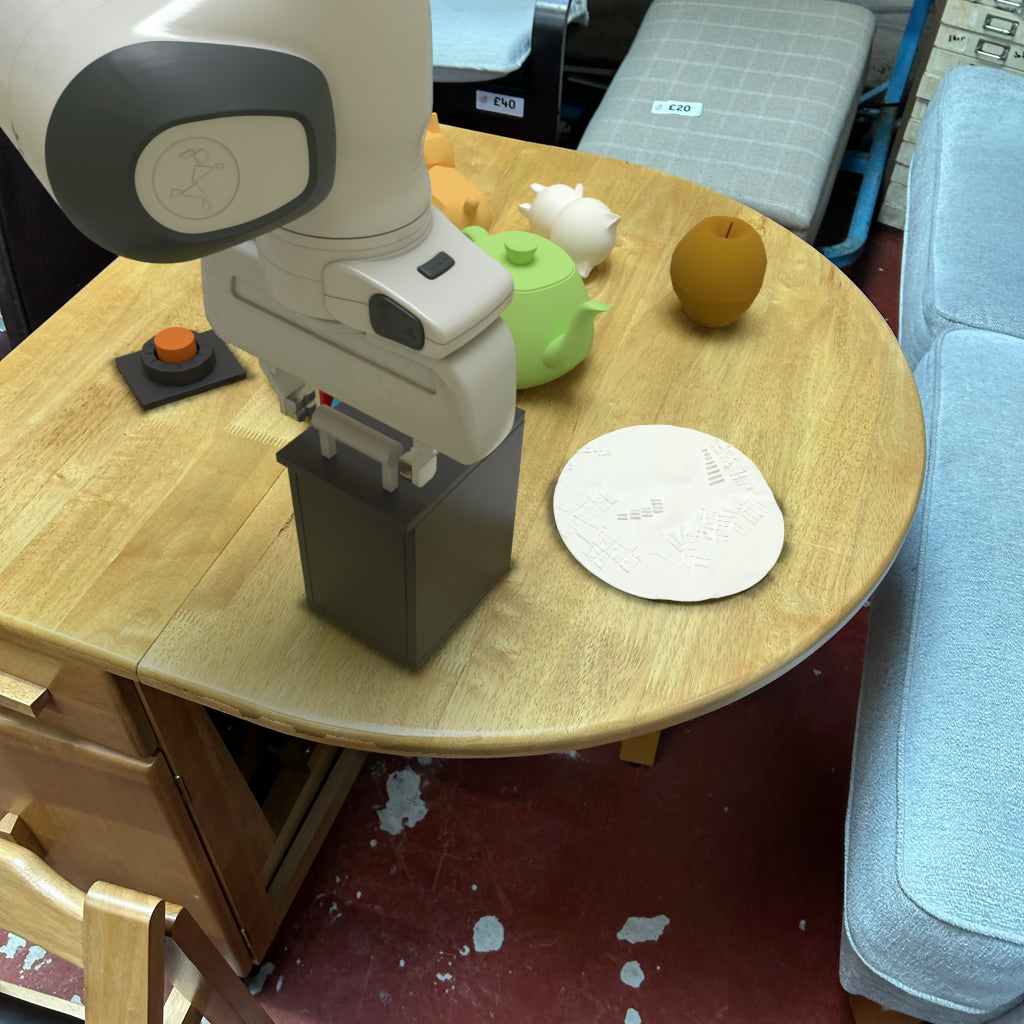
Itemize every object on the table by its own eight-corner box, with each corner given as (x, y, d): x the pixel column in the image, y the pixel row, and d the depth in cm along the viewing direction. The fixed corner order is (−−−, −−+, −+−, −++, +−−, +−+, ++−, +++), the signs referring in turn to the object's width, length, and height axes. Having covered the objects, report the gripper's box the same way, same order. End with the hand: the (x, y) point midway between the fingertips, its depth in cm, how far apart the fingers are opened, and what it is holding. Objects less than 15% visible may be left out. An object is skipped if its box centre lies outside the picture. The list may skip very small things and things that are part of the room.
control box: (144, 410, 88) (138, 389, 86) (115, 363, 92) (109, 342, 90) (247, 377, 92) (243, 356, 90) (215, 333, 96) (211, 313, 94)
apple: (643, 315, 103) (662, 217, 95) (695, 283, 109) (718, 187, 100) (716, 357, 99) (743, 257, 91) (767, 321, 104) (797, 224, 96)
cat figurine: (537, 156, 107) (603, 201, 100) (594, 187, 115) (659, 230, 108) (499, 227, 110) (561, 275, 103) (558, 252, 118) (618, 298, 111)
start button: (165, 369, 89) (161, 353, 87) (152, 348, 91) (148, 333, 89) (202, 357, 90) (199, 342, 89) (188, 337, 92) (185, 322, 91)
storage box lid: (406, 534, 58) (405, 481, 55) (276, 462, 62) (267, 407, 58) (525, 419, 66) (530, 366, 63) (403, 360, 70) (402, 308, 66)
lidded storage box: (416, 672, 70) (414, 527, 59) (306, 604, 74) (284, 455, 62) (510, 566, 78) (525, 419, 66) (406, 510, 81) (403, 361, 70)
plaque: (658, 404, 92) (660, 393, 91) (828, 525, 83) (833, 513, 82) (505, 506, 83) (505, 494, 82) (678, 654, 74) (681, 643, 73)
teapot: (646, 394, 94) (671, 279, 85) (526, 450, 87) (538, 333, 78) (512, 286, 106) (520, 175, 96) (397, 329, 99) (394, 213, 89)
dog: (421, 189, 119) (421, 84, 110) (508, 268, 108) (515, 159, 99) (364, 203, 116) (359, 96, 106) (448, 286, 105) (450, 175, 95)
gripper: (154, 201, 51) (197, 403, 61) (470, 348, 44) (459, 548, 54) (240, 159, 54) (267, 355, 64) (542, 289, 48) (520, 485, 57)
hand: (356, 444), depth 59 cm, fingers open, 8 cm apart
